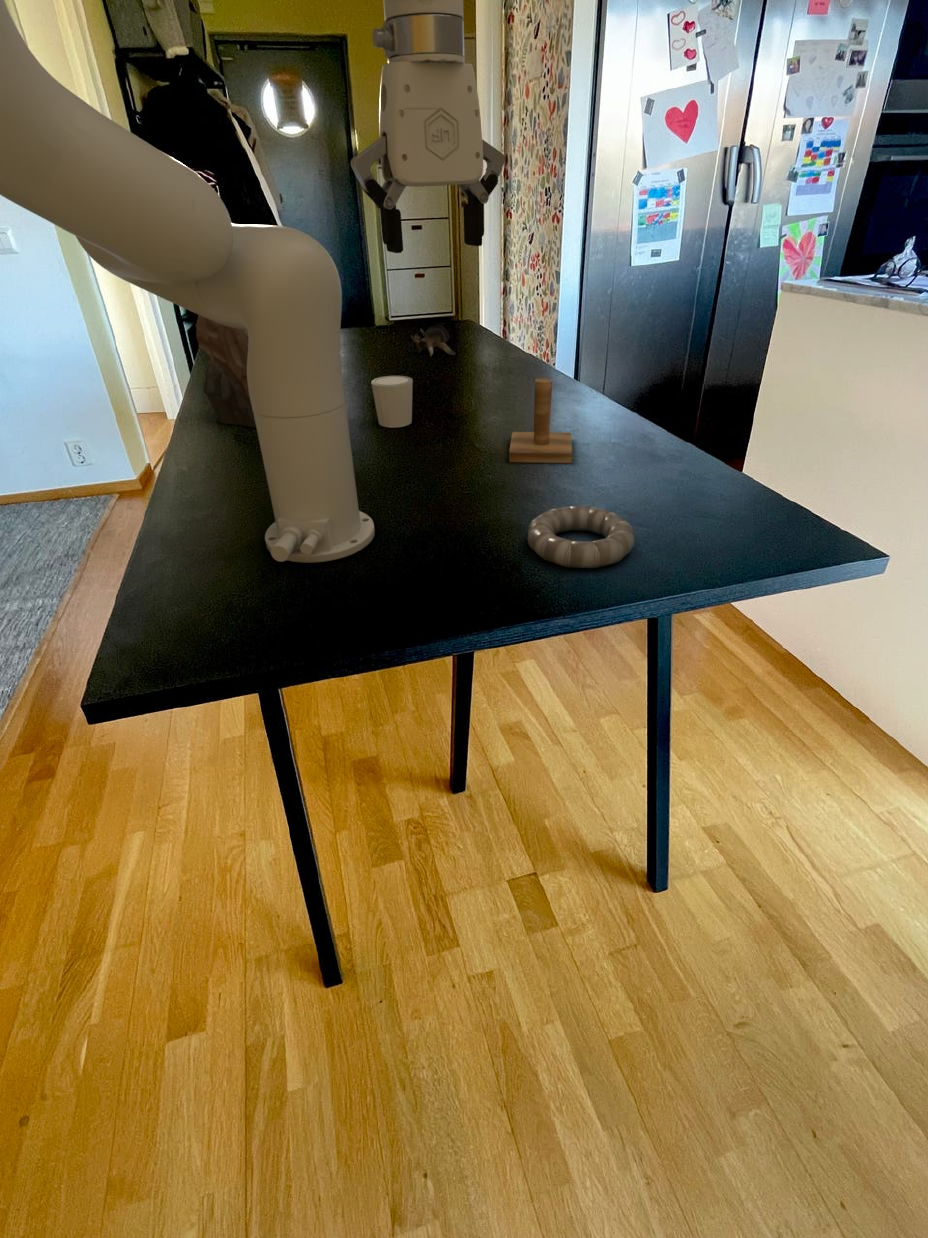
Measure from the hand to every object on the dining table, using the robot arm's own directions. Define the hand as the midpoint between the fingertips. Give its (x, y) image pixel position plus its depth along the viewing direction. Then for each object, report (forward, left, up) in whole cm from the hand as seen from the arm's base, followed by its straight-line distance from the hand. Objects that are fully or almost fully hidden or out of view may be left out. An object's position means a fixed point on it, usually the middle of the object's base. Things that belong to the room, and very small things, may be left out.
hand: (435, 248), depth 74 cm
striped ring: (-16, -17, -27) cm, 36 cm away
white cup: (+27, +13, -29) cm, 41 cm away
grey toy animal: (+77, +14, -29) cm, 83 cm away
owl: (+28, +38, -28) cm, 55 cm away
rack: (+14, -12, -28) cm, 34 cm away
